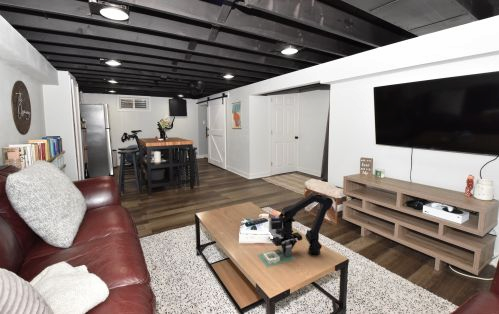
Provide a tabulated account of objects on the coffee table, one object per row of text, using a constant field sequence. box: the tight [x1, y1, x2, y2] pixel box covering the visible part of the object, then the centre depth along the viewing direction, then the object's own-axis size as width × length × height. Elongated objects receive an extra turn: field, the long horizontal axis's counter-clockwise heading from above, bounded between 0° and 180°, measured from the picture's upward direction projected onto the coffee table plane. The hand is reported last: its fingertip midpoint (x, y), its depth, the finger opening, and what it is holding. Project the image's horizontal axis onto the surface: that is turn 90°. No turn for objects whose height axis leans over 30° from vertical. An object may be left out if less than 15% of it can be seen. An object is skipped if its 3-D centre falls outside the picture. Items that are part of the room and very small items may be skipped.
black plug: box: [283, 241, 293, 258], centre depth 148 cm, size 4×4×8 cm
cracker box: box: [268, 209, 289, 242], centre depth 166 cm, size 14×6×21 cm, turn 51°
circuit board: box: [257, 248, 297, 268], centre depth 146 cm, size 20×14×4 cm
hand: (287, 251), depth 148 cm, fingers closed on black plug, 4 cm apart
